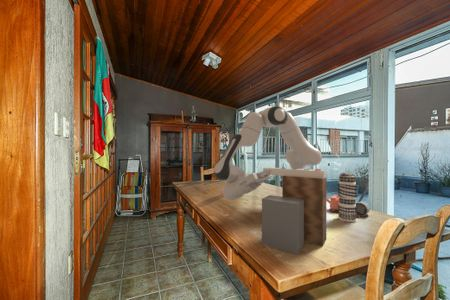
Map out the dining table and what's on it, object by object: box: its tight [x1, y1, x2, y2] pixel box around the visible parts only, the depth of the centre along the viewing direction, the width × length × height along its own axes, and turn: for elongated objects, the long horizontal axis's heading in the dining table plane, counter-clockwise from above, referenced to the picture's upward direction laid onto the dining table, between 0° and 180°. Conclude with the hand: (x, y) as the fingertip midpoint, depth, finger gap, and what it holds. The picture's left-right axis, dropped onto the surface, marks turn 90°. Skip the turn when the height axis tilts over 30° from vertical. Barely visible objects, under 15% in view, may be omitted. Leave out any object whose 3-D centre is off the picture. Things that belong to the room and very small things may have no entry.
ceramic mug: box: [355, 201, 371, 217], centre depth 120 cm, size 11×8×8 cm
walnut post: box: [281, 176, 327, 247], centre depth 87 cm, size 16×8×26 cm, turn 54°
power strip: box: [262, 166, 327, 179], centre depth 90 cm, size 26×4×4 cm, turn 54°
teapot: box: [326, 194, 340, 212], centre depth 128 cm, size 12×12×10 cm
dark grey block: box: [261, 194, 305, 255], centre depth 81 cm, size 14×8×18 cm, turn 54°
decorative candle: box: [337, 172, 358, 223], centre depth 111 cm, size 9×9×25 cm
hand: (271, 170), depth 96 cm, fingers closed on power strip, 4 cm apart
